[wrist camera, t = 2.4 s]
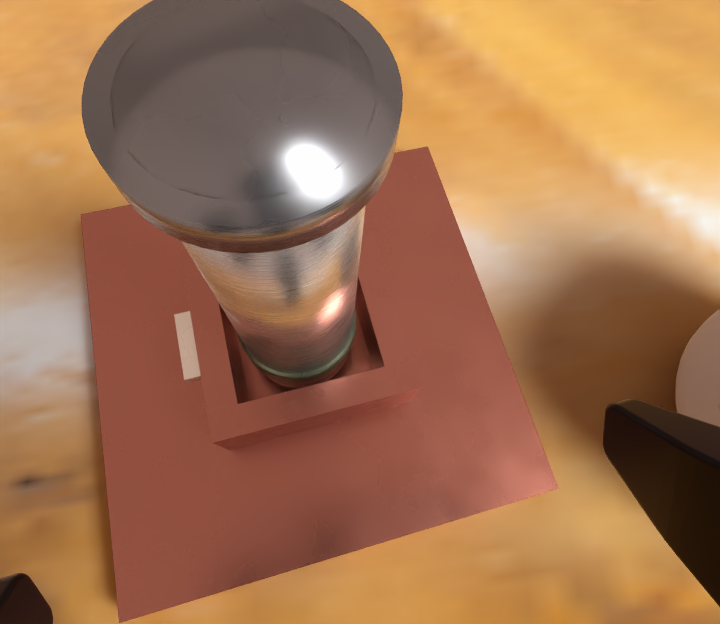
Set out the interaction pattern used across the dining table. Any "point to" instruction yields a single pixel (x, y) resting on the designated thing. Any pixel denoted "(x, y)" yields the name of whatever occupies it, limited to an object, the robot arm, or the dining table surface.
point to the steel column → (254, 157)
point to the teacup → (701, 374)
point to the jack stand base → (298, 407)
